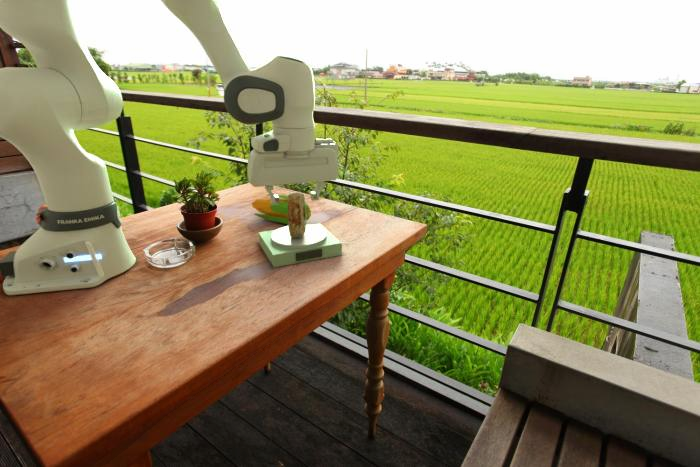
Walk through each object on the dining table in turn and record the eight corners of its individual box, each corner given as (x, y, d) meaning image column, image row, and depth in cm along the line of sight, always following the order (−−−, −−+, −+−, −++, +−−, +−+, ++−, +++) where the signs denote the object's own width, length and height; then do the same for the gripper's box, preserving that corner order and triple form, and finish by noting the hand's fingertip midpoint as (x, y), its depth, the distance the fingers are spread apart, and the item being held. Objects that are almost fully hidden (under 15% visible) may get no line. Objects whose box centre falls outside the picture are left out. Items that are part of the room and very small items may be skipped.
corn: (301, 202, 100) (241, 192, 109) (301, 230, 103) (242, 218, 111) (316, 197, 107) (258, 188, 115) (316, 223, 109) (259, 212, 117)
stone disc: (303, 243, 86) (302, 200, 82) (286, 243, 86) (284, 200, 82) (308, 227, 95) (307, 187, 91) (293, 226, 95) (291, 187, 91)
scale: (274, 268, 83) (273, 252, 81) (259, 243, 95) (257, 229, 93) (342, 255, 89) (342, 240, 88) (320, 233, 101) (319, 220, 100)
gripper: (333, 136, 89) (332, 193, 95) (243, 139, 81) (247, 202, 86) (344, 140, 84) (342, 201, 90) (249, 144, 76) (253, 211, 81)
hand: (295, 201), depth 88 cm, fingers open, 8 cm apart
